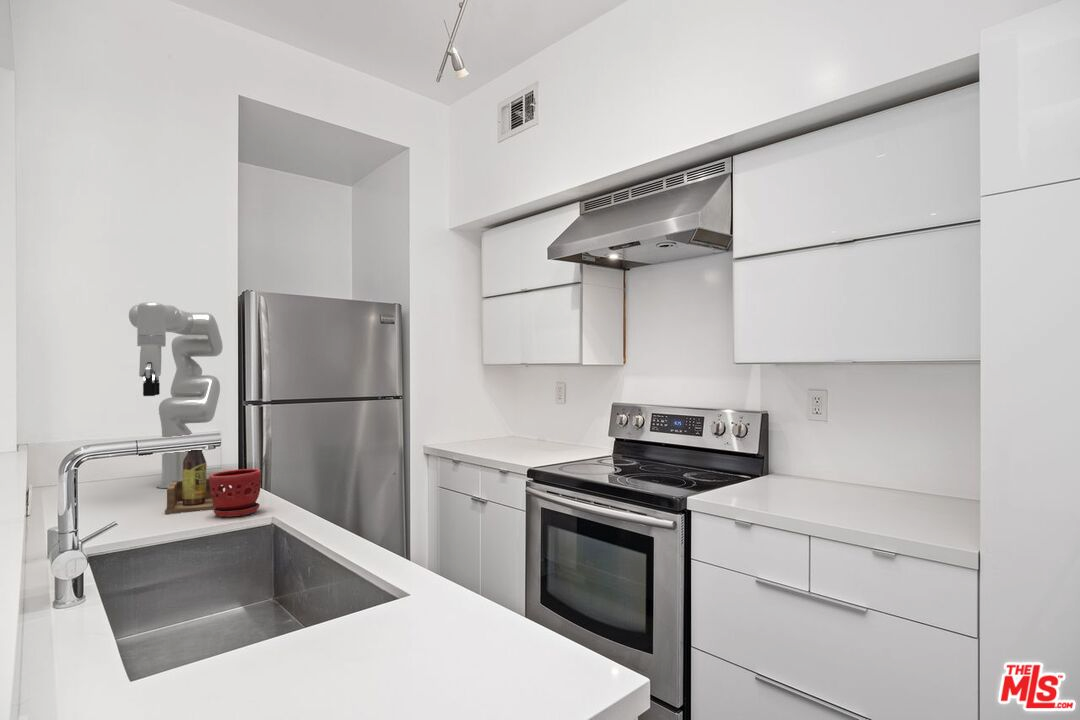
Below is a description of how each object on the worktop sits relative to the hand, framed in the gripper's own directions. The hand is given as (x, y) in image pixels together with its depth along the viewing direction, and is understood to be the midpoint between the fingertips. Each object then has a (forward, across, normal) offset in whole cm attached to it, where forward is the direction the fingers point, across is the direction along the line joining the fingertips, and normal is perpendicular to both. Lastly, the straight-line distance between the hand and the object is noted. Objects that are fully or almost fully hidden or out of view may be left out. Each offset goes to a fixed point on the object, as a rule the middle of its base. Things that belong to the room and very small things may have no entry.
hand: (151, 395), depth 186 cm
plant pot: (+34, +33, +24) cm, 53 cm away
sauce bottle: (+32, +17, +13) cm, 39 cm away
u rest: (+33, +17, +13) cm, 40 cm away
